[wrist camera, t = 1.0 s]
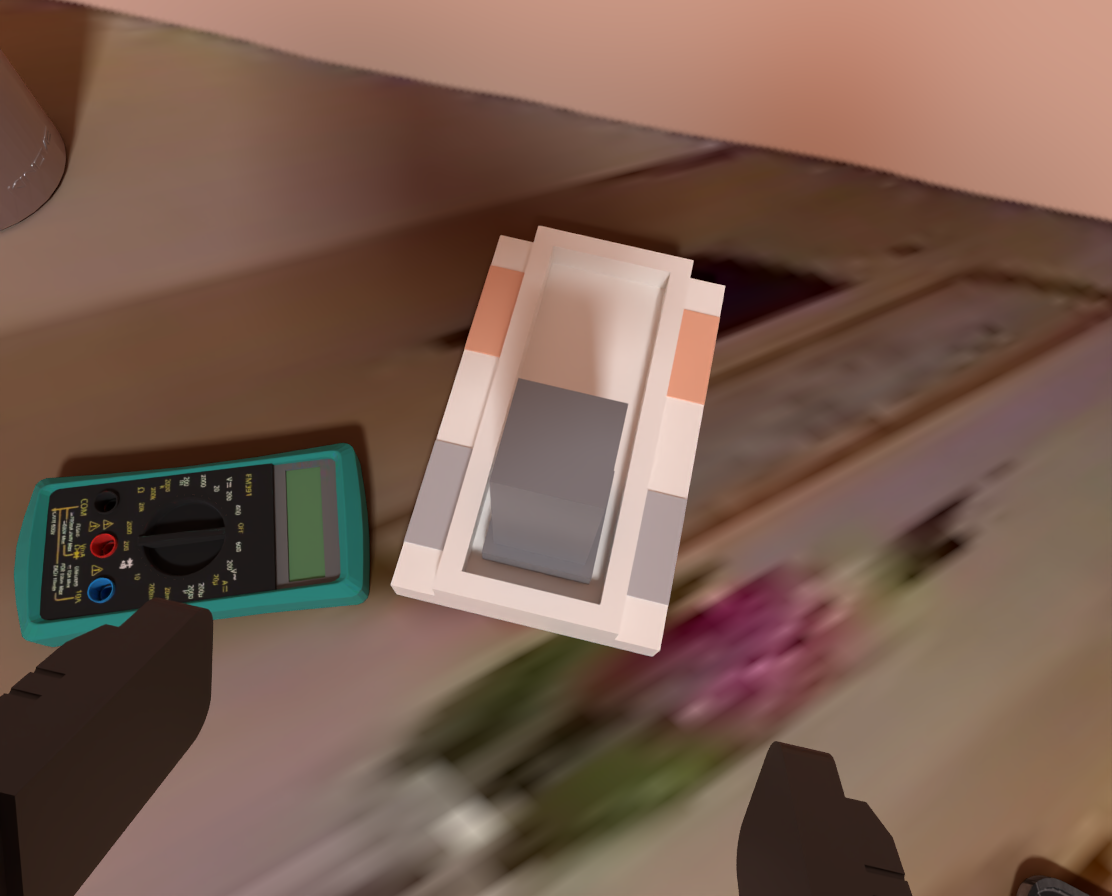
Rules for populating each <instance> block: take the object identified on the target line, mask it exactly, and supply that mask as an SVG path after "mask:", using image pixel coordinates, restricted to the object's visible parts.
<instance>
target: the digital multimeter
mask: <svg viewBox="0 0 1112 896" xmlns="http://www.w3.org/2000/svg"><path fill="white" fill-rule="evenodd" d="M192 494H194V495H192ZM44 549H45V554H44ZM43 561H44V566H43ZM369 570H370V553H369V526H368V513H367V505H366V497H365V490H364V483H363V477H362V471H361V465H360V462H359V459H358V457H357V455H356V453H355V451H354V449H353V447H352V446H350V445H349V444H347V443H339V444H333V445H327V446H321V447H315V448H309V449H303V450H297V451H291V452H285V453H279V454H273V455H267V456H261V457H254V458H247V459H239V460H232V461H224V462H217V463H209V464H202V465H194V466H187V467H178V468H167V469H156V470H145V471H135V472H124V473H113V474H101V475H87V476H73V477H58V478H46V479H43V480H41V481H40V482H38V483H37V484H36V486H35V489H34V491H33V494H32V497H31V500H30V502H29V505H28V508H27V511H26V514H25V516H24V520H23V524H22V527H21V531H20V535H19V539H18V542H17V547H16V557H15V568H14V582H15V595H16V605H17V611H18V616H19V622H20V628H21V633H22V637H23V638H24V639H26V640H27V641H31V642H34V643H38V644H42V645H45V646H50V647H56V646H62V645H63V644H64V643H65V642H67V641H69V640H72V639H74V638H76V637H78V636H80V635H83V634H85V633H87V632H89V631H91V630H94V629H96V628H98V627H100V626H102V625H105V624H108V625H112V626H117V627H119V626H120V625H122V624H123V623H124V622H125V621H126V620H127V619H128V618H129V617H130V616H132V615H133V614H134V613H135V612H136V611H137V610H138V608H141V607H142V606H143V605H144V604H145V603H146V602H148V601H149V600H151V599H153V598H156V597H157V598H163V599H167V600H171V601H176V602H180V603H184V604H189V605H193V606H198V607H202V608H206V609H208V610H210V612H211V613H212V616H213V620H216V619H224V618H232V617H240V616H247V615H255V614H263V613H272V612H283V611H293V610H304V609H315V608H325V607H336V606H347V605H357V604H360V603H363V602H364V601H365V600H366V599H367V598H368V594H369ZM42 573H43V578H42ZM164 577H165V578H164ZM41 585H42V590H41ZM262 591H263V592H262ZM255 592H256V593H255ZM240 594H241V595H240ZM233 595H234V596H233ZM218 597H219V598H218ZM196 600H197V601H196ZM130 609H131V610H130ZM123 610H124V611H123ZM116 611H117V612H116ZM108 612H110V613H108ZM101 613H103V614H101ZM94 614H95V615H94ZM86 615H88V616H86ZM79 616H80V617H79ZM72 617H73V618H72ZM64 618H66V619H64ZM57 619H58V620H57Z"/></svg>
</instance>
